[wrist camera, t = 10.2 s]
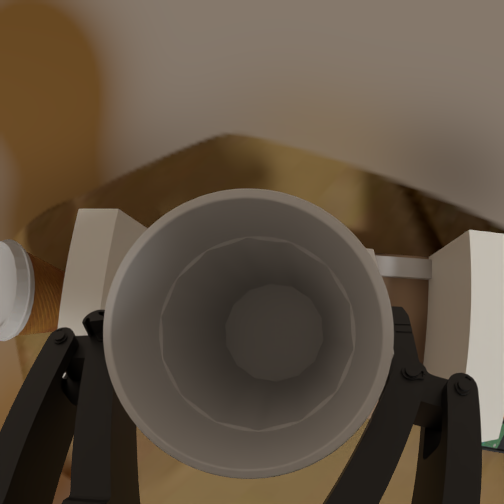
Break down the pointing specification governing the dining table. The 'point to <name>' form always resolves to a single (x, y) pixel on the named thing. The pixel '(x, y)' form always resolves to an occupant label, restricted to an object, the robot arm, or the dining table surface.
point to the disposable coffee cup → (27, 292)
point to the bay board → (408, 291)
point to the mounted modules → (439, 300)
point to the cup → (248, 333)
